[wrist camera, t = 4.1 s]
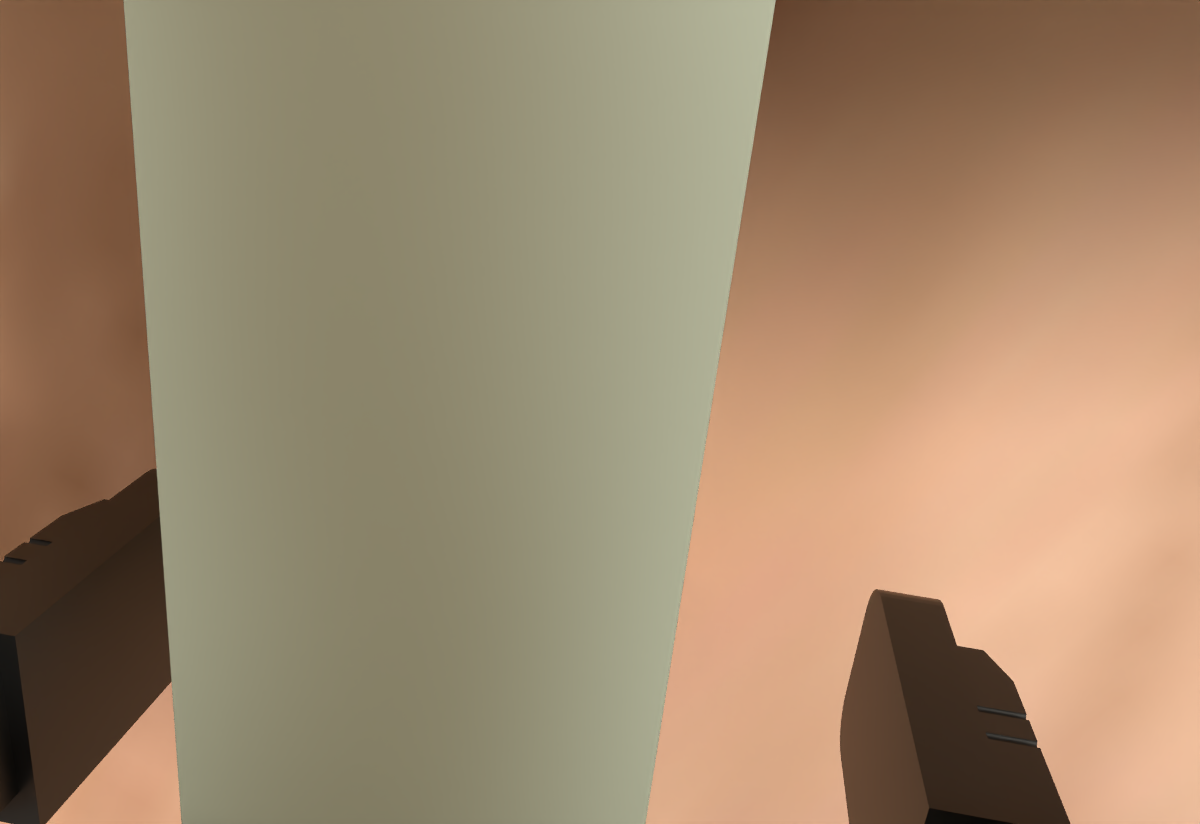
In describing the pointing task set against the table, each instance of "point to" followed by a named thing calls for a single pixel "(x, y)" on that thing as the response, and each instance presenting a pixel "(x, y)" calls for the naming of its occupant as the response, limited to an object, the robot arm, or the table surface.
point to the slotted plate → (432, 388)
